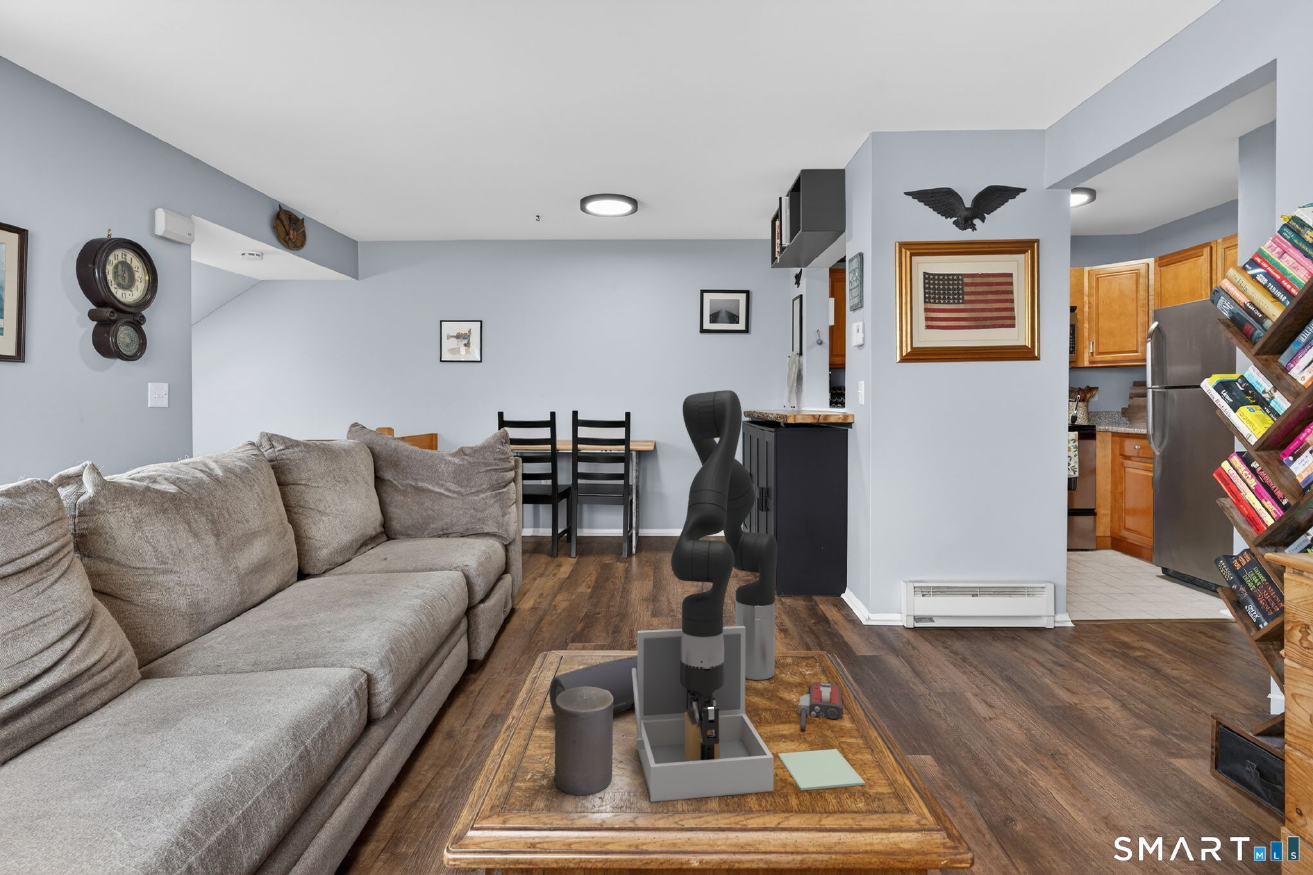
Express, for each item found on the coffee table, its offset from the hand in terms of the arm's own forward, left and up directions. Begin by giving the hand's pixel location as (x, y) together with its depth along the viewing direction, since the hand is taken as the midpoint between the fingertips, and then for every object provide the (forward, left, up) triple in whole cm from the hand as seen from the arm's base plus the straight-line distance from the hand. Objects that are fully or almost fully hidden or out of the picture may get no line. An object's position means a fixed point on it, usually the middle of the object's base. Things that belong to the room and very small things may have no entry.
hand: (701, 750), depth 111 cm
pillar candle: (0, -20, -4) cm, 20 cm away
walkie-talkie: (-18, +29, -4) cm, 35 cm away
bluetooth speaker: (-25, -14, -4) cm, 29 cm away
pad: (+3, +20, -3) cm, 21 cm away
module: (0, 0, -2) cm, 2 cm away
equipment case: (-1, -1, -3) cm, 3 cm away
